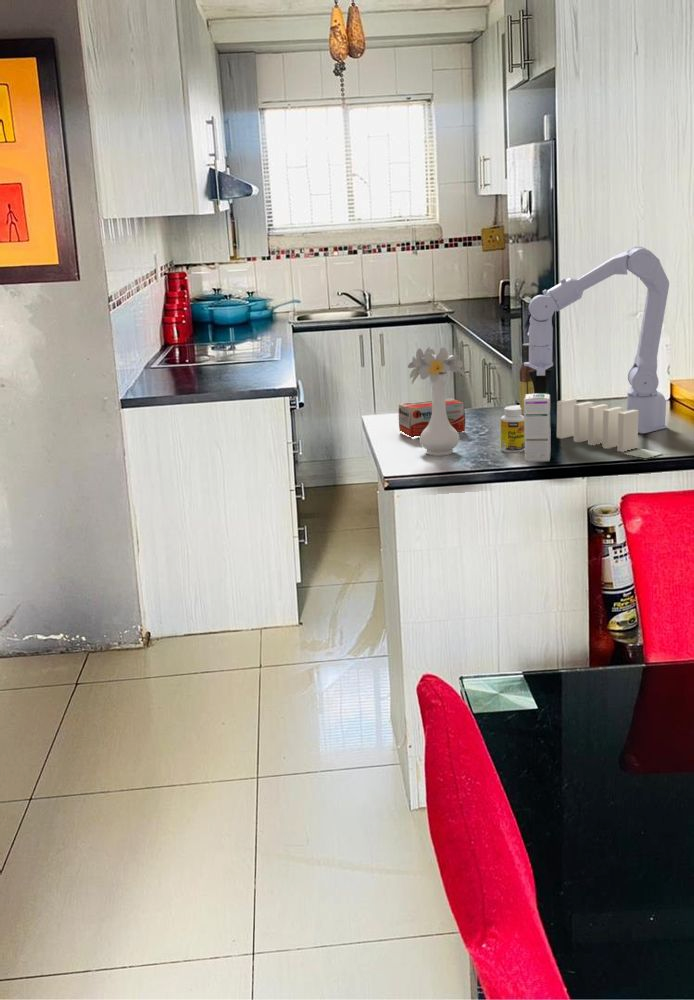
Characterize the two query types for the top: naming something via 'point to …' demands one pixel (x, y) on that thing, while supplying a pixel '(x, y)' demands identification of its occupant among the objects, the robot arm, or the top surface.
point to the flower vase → (437, 398)
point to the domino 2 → (581, 421)
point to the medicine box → (429, 416)
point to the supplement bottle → (512, 430)
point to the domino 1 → (565, 418)
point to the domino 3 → (595, 424)
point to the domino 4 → (610, 427)
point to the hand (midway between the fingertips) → (540, 399)
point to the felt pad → (643, 453)
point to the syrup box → (537, 427)
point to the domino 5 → (627, 430)
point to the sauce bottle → (525, 377)
